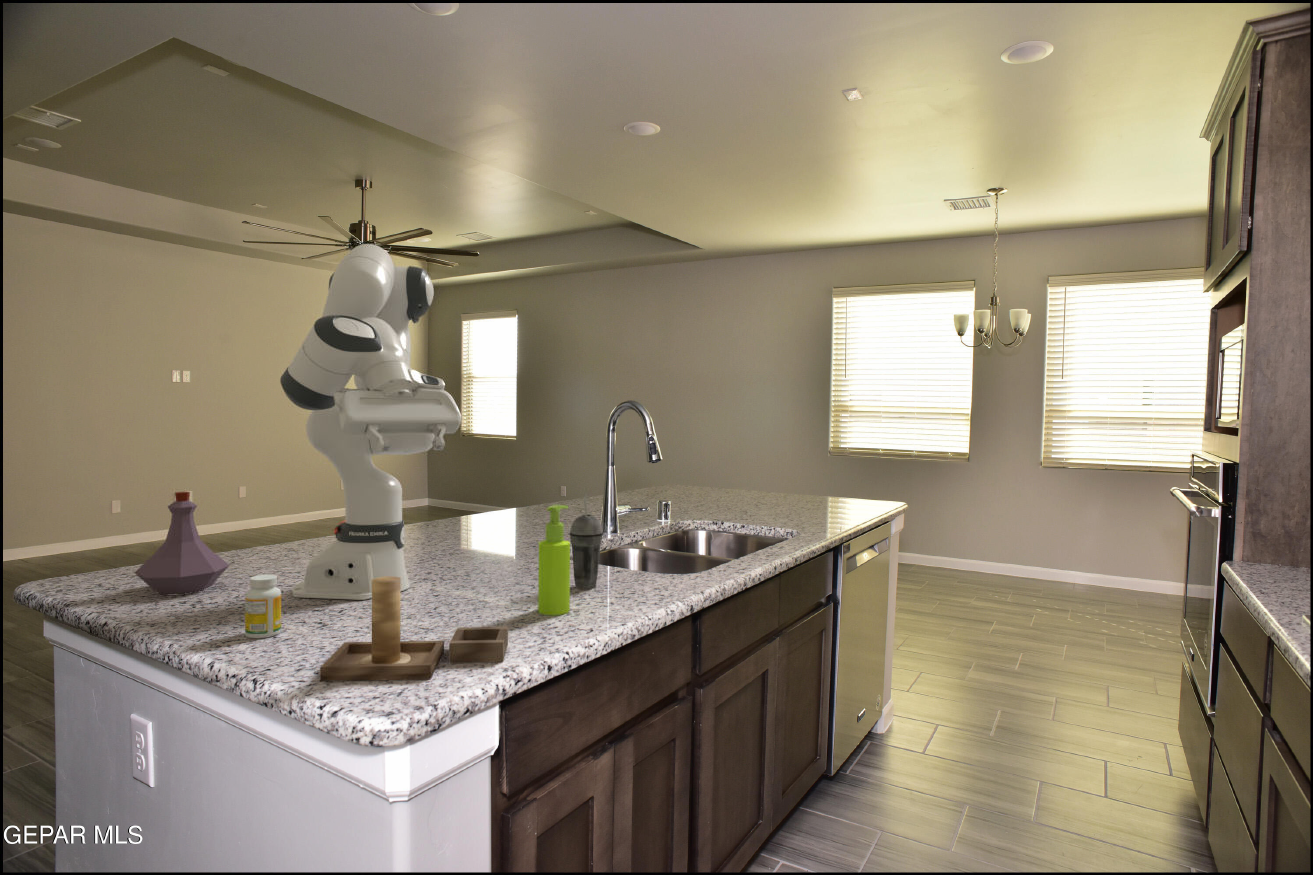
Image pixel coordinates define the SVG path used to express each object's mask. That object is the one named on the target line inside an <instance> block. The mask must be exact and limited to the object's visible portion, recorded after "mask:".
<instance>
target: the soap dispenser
mask: <svg viewBox="0 0 1313 875" xmlns="http://www.w3.org/2000/svg"><path fill="white" fill-rule="evenodd" d="M563 509H566V510H568V509H569V506H568V505H563V504H553V505H550V506H548V507H546V511H547V512H549V513H550V514H549V515H550V517H549V518H550V520H549V522H548V523H546V524H545V540H541V541H539V542H538V574H537V575H538V576H537V577H538V584H537V585H538V589H537V591H538V594H537V602H538V604H537V608H538V609H537V612H538V613H539V614H541V615H545V616H561V615H565V614H567V613H569V612H570V600H571V599H570V591H571V590H570V589H571V588H570V587H571V585H570V584H571V541H568V540H564V538H565V537H564V536H565V535H564V530H565V528H564V525H565V524H564V523H562V522H561V521H560V510H563Z"/></svg>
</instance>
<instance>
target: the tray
mask: <svg viewBox="0 0 1313 875" xmlns="http://www.w3.org/2000/svg"><path fill="white" fill-rule="evenodd" d="M444 655H445V640H408V641H407V640H404V641H403V640H402V641H401V640H400V660H399V661H398V662H395V663H392V664H374V663H372V641H345V642H343V643H342V644H341V645H340V646H339V647H338V649H337V650H335V652H333V654H331V655H330V656H329V657H328V659H326V661H324V663H323V664H321V665H320V667H319V682H322V683H323V682H358V681H359V682H362V681H399V680H400V681H402V680H406V681H408V680H411V681H412V680H431V679H432V677H433V675H434V673H435V672H436V669H437V668H438V666H439V663H440V662H441V660H442V658H443V657H444Z"/></svg>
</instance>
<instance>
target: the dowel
mask: <svg viewBox="0 0 1313 875" xmlns="http://www.w3.org/2000/svg"><path fill="white" fill-rule="evenodd" d="M401 592H402V591H401V578H399V577H393V576H387V577H378V578H375V579H372V598H371V642H372V663H374V664H392V663H395V662H398V661H399V660H400V641H401V628H402V627H401V620H402V618H401V614H402V613H401V612H402V610H401V607H402V606H401V601H402V600H401V599H402V598H401V596H402V594H401Z"/></svg>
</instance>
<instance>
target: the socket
mask: <svg viewBox="0 0 1313 875" xmlns="http://www.w3.org/2000/svg"><path fill="white" fill-rule="evenodd" d="M448 643H449V644H448V649H449V650H448V653H449V654H448V659H449V660H448V663H449V664H459V663H465V664H466V663H504V660H505V657H506V653H507V651H508V650H507V649H508V647H509V626H463V627H459V626H458V627H456V630H455V631H454V634H453V636H452V637H451V639H450V641H449V642H448Z"/></svg>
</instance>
